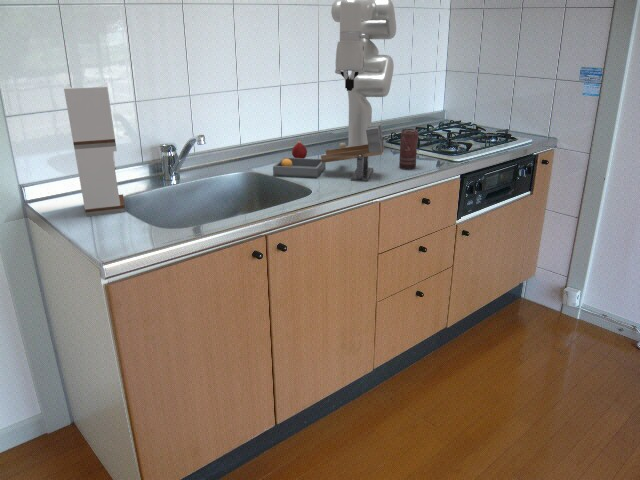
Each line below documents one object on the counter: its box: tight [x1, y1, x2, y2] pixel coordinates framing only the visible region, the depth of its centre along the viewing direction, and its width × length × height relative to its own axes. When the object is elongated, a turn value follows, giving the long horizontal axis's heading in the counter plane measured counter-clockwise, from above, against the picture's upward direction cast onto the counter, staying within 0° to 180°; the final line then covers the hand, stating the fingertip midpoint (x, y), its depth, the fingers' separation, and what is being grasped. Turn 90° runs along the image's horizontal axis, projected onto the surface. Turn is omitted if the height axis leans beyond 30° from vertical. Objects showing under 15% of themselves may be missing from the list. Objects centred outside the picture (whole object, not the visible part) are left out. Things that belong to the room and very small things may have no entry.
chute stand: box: [350, 154, 375, 182], centre depth 193 cm, size 15×6×9 cm, turn 168°
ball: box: [281, 159, 292, 167], centre depth 199 cm, size 4×4×4 cm
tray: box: [272, 157, 327, 179], centre depth 198 cm, size 14×16×4 cm
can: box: [398, 128, 419, 171], centre depth 201 cm, size 6×6×14 cm
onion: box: [291, 140, 308, 158], centre depth 213 cm, size 6×6×8 cm
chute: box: [320, 123, 385, 163], centre depth 195 cm, size 17×21×9 cm
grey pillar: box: [63, 82, 126, 217], centre depth 155 cm, size 11×11×35 cm
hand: (349, 90), depth 202 cm, fingers closed
